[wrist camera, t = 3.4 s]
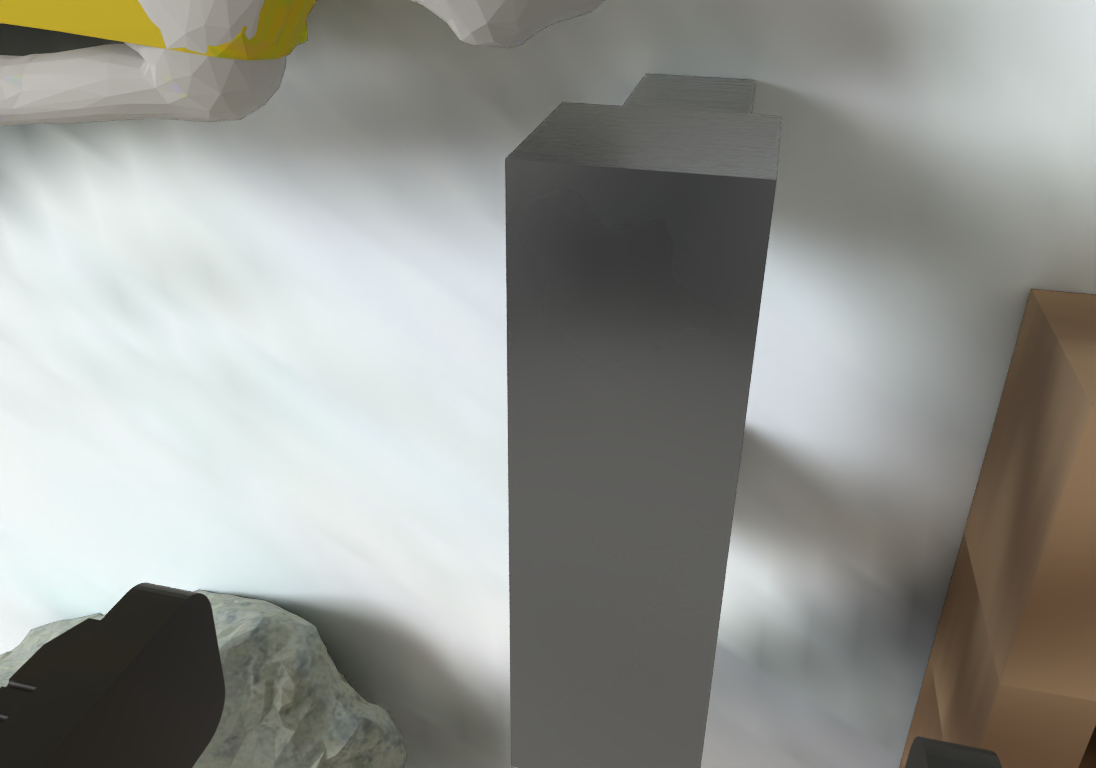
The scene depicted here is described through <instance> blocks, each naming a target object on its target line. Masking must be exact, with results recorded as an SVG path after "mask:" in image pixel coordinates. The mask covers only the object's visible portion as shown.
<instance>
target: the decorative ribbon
mask: <svg viewBox="0 0 1096 768" xmlns="http://www.w3.org/2000/svg"><path fill="white" fill-rule="evenodd" d="M316 1H317V0H0V24H1V23H4V24H11V25H18V26H25V27H32V28H39V29H46V30H53V31H60V32H66V33H72V34H78V35H84V36H90V37H96V38H102V39H108V40H115V41H121V42H123V43H122V44H106V45H100V46H94V47H87V48H81V49H75V50H69V51H63V52H56V53H43V54H30V55H26V56H8V55H0V125H1V126H7V125H20V124H34V123H52V124H64V123H80V122H96V121H112V120H128V119H143V118H160V119H175V120H190V121H206V122H212V121H226V120H240V119H243V118H244V117H246V116H247V115H249V114H251V113H252V112H254V111H255V110H257V109H259V108H260V107H262V106H263V105H265V103H266V102H267V101H268V100H269V99H270V98H271V97H272V95H273V94H274V93H275V92H276V91H277V90H278V89H279V87H280V84H281V80H282V77H283V74H284V71H285V65H286V55H288V54H290V53H291V52H292V50H293V49H294V48H295V46H297V45H299V44H301V43H304V42H306V41H308V38H307V20H306V18H307V16H308V14H309V13H310V11H311V9H312V8H313V6H314V4H315V3H316ZM410 1H413V2H417V3H419V4H421V5H423V6H424V7H426V8H428V9H429V10H430V11H432V12H433V13H434V14H436V15H437V16H438V17H440V18H441V19H442V20H444V21H445V22H446V23H447V24H448V25H449V26H450V28H451V29H452V30H453V32H454V33H455V34H456V35H457V37H458V38H459V39H460V40H461V41H463V42H465V43H467V44H470V45H480V46H493V47H505V48H511V47H514V46H518V45H521V44H523V43H524V42H525V41H527V40H528V39H529V38H530V37H531V36H532V35H533V34H534V33H536V32H538V31H540V30H542V29H544V28H546V27H548V26H550V25H552V24H554V23H557V22H560V21H563V20H567V19H570V18H573V17H576V16H580V15H583V14H586V13H590V12H592V11H593V10H594V9H595V8H597V7H598V6H599V5H600V4H601V3H603V2H604V1H605V0H410Z"/></svg>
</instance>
